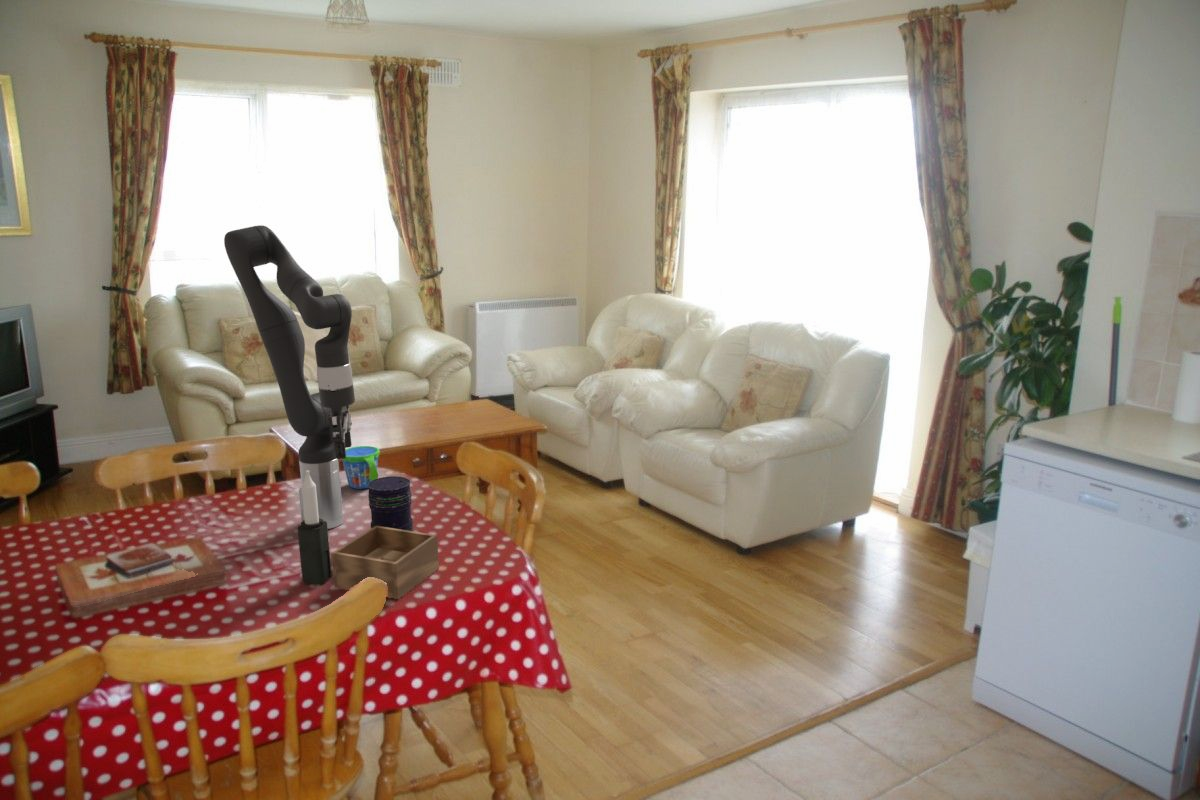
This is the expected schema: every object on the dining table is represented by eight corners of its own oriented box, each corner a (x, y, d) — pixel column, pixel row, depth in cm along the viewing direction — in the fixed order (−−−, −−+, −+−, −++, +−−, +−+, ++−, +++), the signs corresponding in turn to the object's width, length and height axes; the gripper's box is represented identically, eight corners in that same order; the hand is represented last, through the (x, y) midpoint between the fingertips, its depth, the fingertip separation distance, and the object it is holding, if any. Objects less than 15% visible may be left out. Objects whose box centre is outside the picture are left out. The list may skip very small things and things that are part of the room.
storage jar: (377, 553, 208) (373, 493, 204) (367, 539, 217) (362, 480, 213) (419, 545, 213) (415, 485, 209) (407, 531, 221) (404, 473, 217)
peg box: (334, 587, 191) (331, 552, 189) (378, 558, 206) (375, 525, 204) (398, 599, 186) (396, 564, 184) (438, 568, 200) (437, 535, 198)
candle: (322, 585, 192) (312, 475, 186) (300, 583, 193) (289, 473, 187) (333, 575, 197) (324, 467, 191) (312, 573, 198) (302, 465, 192)
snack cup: (335, 481, 257) (332, 447, 254) (370, 474, 263) (368, 441, 260) (353, 497, 244) (350, 461, 242) (390, 489, 250) (388, 454, 248)
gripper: (324, 378, 209) (332, 445, 213) (312, 392, 195) (322, 463, 199) (357, 376, 210) (364, 442, 214) (348, 390, 196) (356, 460, 200)
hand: (344, 452), depth 206 cm, fingers open, 8 cm apart
